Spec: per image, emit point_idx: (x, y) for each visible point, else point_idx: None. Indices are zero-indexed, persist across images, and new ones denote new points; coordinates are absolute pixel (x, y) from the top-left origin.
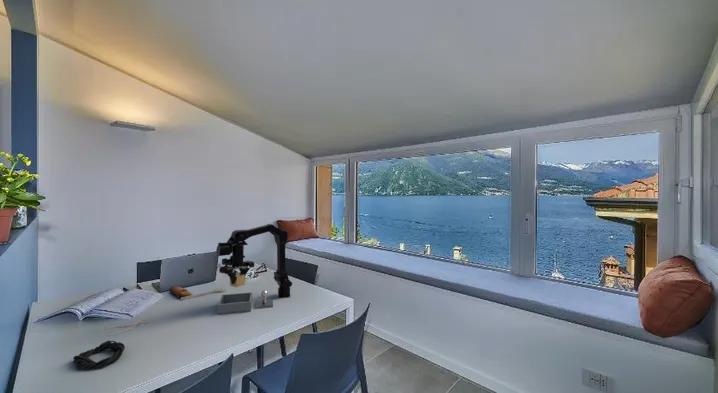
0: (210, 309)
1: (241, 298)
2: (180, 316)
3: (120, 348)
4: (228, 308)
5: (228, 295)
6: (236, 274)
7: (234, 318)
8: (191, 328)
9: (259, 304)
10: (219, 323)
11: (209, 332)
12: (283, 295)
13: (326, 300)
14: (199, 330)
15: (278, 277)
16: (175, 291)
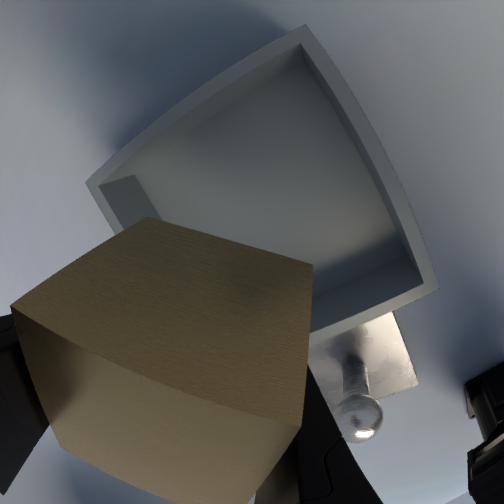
0: (182, 50)
1: (383, 194)
2: (70, 4)
3: None
4: None
5: (326, 84)
6: (140, 428)
7: None
8: (10, 173)
9: (324, 356)
10: (68, 255)
11: (22, 265)
12: (472, 402)
13: (406, 500)
14: (13, 218)
15: (486, 492)
16: None
